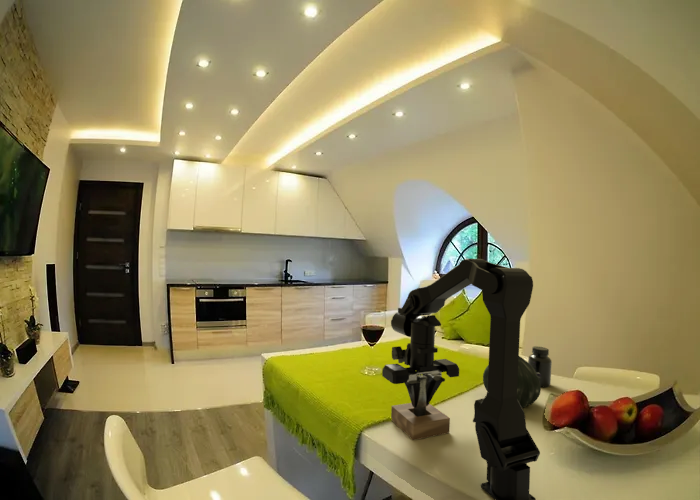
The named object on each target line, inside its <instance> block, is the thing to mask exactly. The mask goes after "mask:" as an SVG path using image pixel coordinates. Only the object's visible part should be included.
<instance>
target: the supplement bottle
mask: <svg viewBox="0 0 700 500" xmlns="http://www.w3.org/2000/svg"><path fill="white" fill-rule="evenodd" d="M549 350H550V349H549V348H546V347H544V346H543V347H542V346H537V345H535V346H532V351H531V353H532V354H530V355H529V356H528V361H527V362H528V363H529V364H530V365H531V366H532V367H533V368H534V370H535V371H536V374H537V376H538V378H539V381H540V387H541V388H549V387H550V386H551V382H552V379H551V378H552V359H551V358H550V357H549V356H550V354H549V352H550V351H549Z"/></svg>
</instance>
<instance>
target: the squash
mask: <svg viewBox="0 0 700 500" xmlns="http://www.w3.org/2000/svg"><path fill="white" fill-rule="evenodd" d="M482 382H483V386H484V388H485V390H486V391H487V388H488V365H487V366H486V367H485V369H484V371H483V374H482ZM541 388H542V387H540V381H539V378H538V376H537V374H536V371H535V370H534V368H533V367H532V366H531V365H530V364H529V363H528V361H527V360H526V359H524V358H523V357H522V356H520V355H519V361H518V384H517V399H518V401H519V403H520V405H521V407H522V409H524V408H526V407H528V406H530V405H532V404H534V403H535V402H536V401H537V400H538V398H539V396H540V395H541V392H542V391H541Z"/></svg>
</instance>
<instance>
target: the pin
mask: <svg viewBox="0 0 700 500" xmlns="http://www.w3.org/2000/svg"><path fill="white" fill-rule="evenodd" d="M417 381H418V382H420V389H419V396H418V402H417V406H416V408H414V415H416V416H417V417H419V416H425V415H426V404H427V377H426V376H424V375H417Z"/></svg>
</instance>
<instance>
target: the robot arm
mask: <svg viewBox="0 0 700 500" xmlns="http://www.w3.org/2000/svg"><path fill="white" fill-rule="evenodd" d="M470 285H472V286H473V287H475V288H477V289H479V290H481V294H482V295H481V297H482V302H483V304H484V306H485V307H486V309H487V311H488V314H489V316H490V318H489V319H490V320H489V322H490V326H489V344H488V345H489V346H488V349H489V350H488V365H487V366H488V388H487V390H486V391H487V392H486V394H485V395H484V396H485V397H484V398H481V399H475V400H474V404H473V409H474V410H473V411H474V414H473V415H474V416H473V419H472V422H473V423H474V424H475V425H474V428H475V434H476V437H477V443H478V448H479V453H480V457H481V458H482V459H483V460H484V461H485V462H486V466H487V467H486V481H485V482H482V483H480V488H481V489H483V491H485V492H486V493H487V494H488V495H489V496H490V497H491V498H493V499H494V500H536V497H535V496H533V495H532V494H531V493H530V480H531V467H530V466H529V465H528V464H529V463H532V462H537V461H538V460H539V457H540V454H541V451H540V449H539V447H538V446H537V444H536V442H535V441H534V439H533V437H532V436H531V434H530V432H529V430H528V429H527V423H526V413H525V411H524V408H522V407H521V405H520V403H519V401H518V399H517V384H518V361H519V356H520V337H521V335H520V333H521V319H522V318H523V315H524V314H525V312H526V311H527V309H528V307H529V305H530V303H531V299H532V294H533V289H534V281H533V277H532V276H531V275H530V274H529V273H528V271H526V270H525V269H523V268H520V267H508V266H507V267H506V266H504V265H501V264H496V263H493V262H489V261H487V260H485V259H483V258H472V257H471V258H470V257H469V258H467V257H466V258H464V259H462V260H461V261H460V262H459V263H458V264H457V265H456V266H455V267H454V268H451V270H449V271H448V272H446V273H445V274H444V275H442V276H441V277H440V278H438V279H437V280H435V281H434V282H432V283H431V284H428V285H425V286H421V287H418V288H415V289H412V290H411V291H409V293H408V294H407V295H408V296H407V298H406V300H405V301H404V304H403V305H402V307H397V312H395V313H394V314H393V316H392V318H391V320H390V326H391V329H392V330H393V331H394V332H396V333H398V334H401V335H403V336H406V337H409V338H410V342H409V343H407V344H406V349H403V348H402V346H392V348H391V359H392V360H393V361H396V360H398V362H397V363H391V364H385V365H384V366H383V367H382V369H381V370H382V373H381V374H382V377H383V379H386V380H387V381H389V382H390V383H391V384H394V385H400V384H404V385H405V387H406V389H407V393H408V397H409V399H410V403H412V406H413V407H414V408H416V406H417V402H418V396H419V389H420V382H418V381H417V375H424V376H426V377H427V404H426V406H428V405H429V404H431V401H432V399H433V398H434V395H435V393H436V392H437V390H438V389H439V387H440V386H441V385H442V383H444V382H445V381H446V378H444V377H442V375H443V374H442V373H445V375H447V376H448V377H449V378H455V377H456V378H457V377H460V366H459V365H458V364H457V363H455V362H453V361H451V360H449V359H447V358H441V359H435V353H439V351H438V350H439V349H438V347H436V346H435V337H436V327H441V325H442V323H441V321H440V320H439V319H438V318H437V317H436V315H435V314H437V313H438V312H439V311H440V310H441V309H443V307H444V306H445V305H446V304H445V303H446V301H447V300H448V299H449V298H451V297H452V296H454V295H456V294H457V293H459V292H460V291H462V290H464V289H466V288H467V287H468V286H470ZM431 314H432V315H431ZM433 314H434V315H433ZM403 363H404V365H405V366H409V367H404V366H402V365H400V364H403Z"/></svg>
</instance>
